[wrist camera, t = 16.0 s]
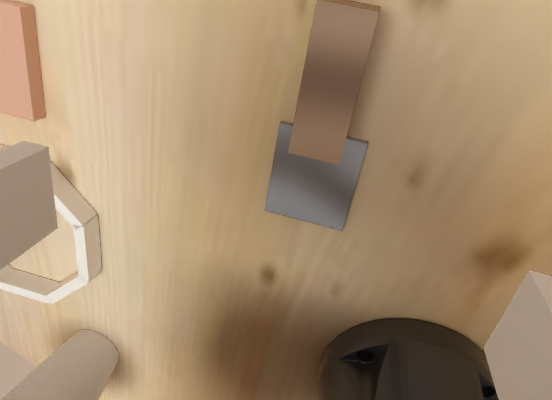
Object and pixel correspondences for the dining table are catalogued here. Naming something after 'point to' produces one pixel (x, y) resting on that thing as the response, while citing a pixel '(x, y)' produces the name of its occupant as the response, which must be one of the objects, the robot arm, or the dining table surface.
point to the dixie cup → (71, 370)
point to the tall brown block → (324, 120)
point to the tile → (20, 62)
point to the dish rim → (85, 244)
